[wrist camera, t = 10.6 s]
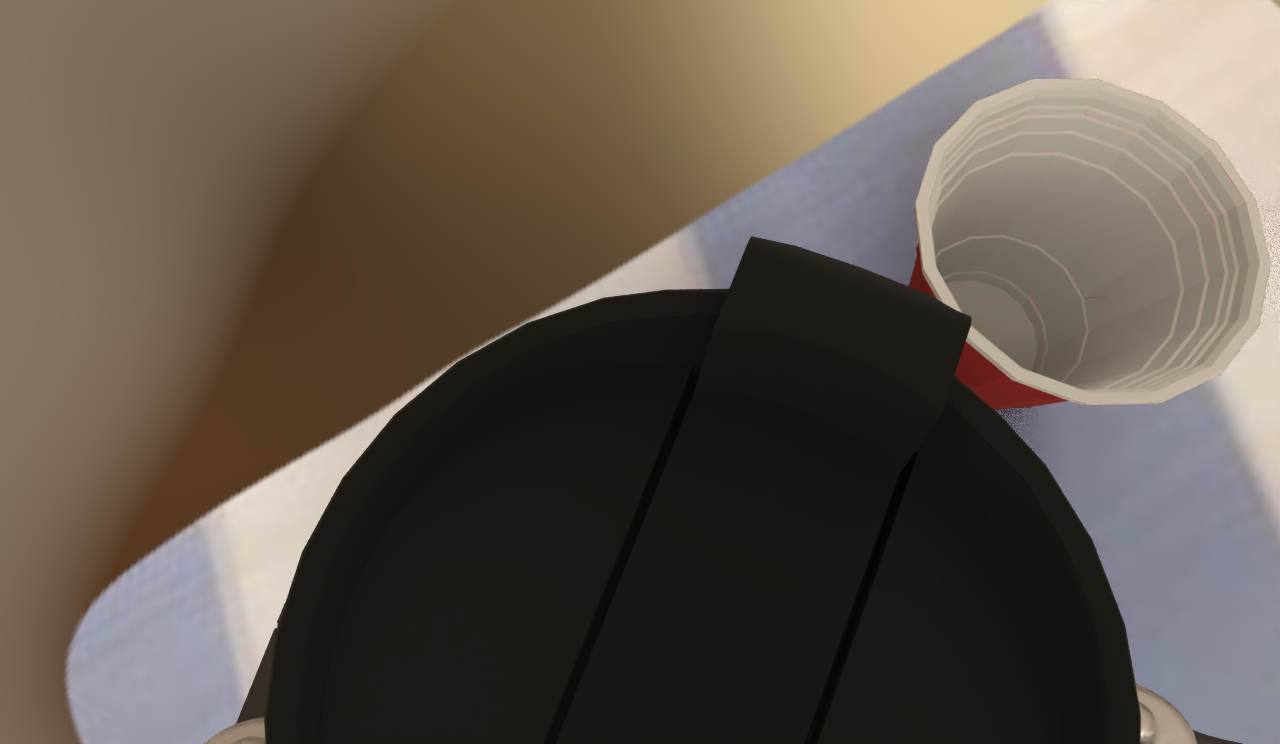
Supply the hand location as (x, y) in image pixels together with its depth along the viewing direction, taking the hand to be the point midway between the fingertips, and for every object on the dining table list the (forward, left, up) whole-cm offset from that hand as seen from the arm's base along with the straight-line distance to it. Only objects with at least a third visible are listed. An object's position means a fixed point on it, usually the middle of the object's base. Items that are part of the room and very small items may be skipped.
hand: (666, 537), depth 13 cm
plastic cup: (-13, -10, -27) cm, 31 cm away
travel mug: (0, +2, -14) cm, 14 cm away
